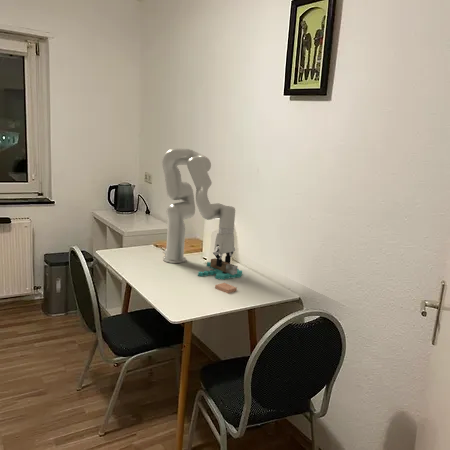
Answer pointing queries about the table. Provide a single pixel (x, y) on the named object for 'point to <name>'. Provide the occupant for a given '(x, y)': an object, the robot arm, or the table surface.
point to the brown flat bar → (224, 267)
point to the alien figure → (219, 273)
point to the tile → (226, 287)
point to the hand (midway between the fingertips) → (223, 264)
